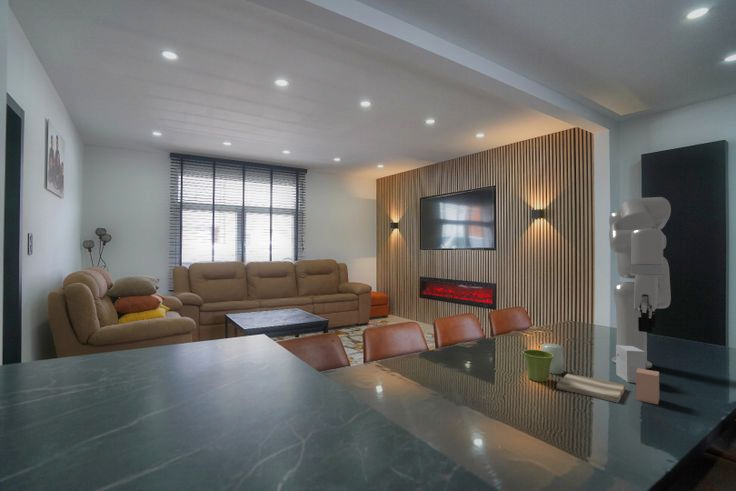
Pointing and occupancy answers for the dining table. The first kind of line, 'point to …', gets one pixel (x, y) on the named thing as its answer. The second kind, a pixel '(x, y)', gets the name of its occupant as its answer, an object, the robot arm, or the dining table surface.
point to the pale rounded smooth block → (555, 357)
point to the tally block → (647, 386)
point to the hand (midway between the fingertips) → (647, 329)
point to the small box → (629, 362)
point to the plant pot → (538, 364)
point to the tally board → (592, 387)
